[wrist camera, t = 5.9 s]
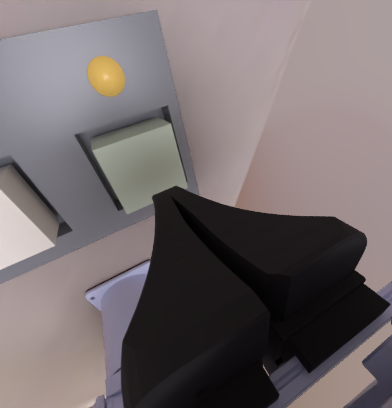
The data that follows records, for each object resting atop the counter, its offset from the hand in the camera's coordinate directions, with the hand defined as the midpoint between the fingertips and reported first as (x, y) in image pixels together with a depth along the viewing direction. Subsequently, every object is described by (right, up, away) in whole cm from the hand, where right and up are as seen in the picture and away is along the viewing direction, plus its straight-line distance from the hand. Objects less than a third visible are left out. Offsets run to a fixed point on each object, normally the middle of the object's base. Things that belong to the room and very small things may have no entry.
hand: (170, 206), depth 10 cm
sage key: (-3, +4, +6) cm, 8 cm away
